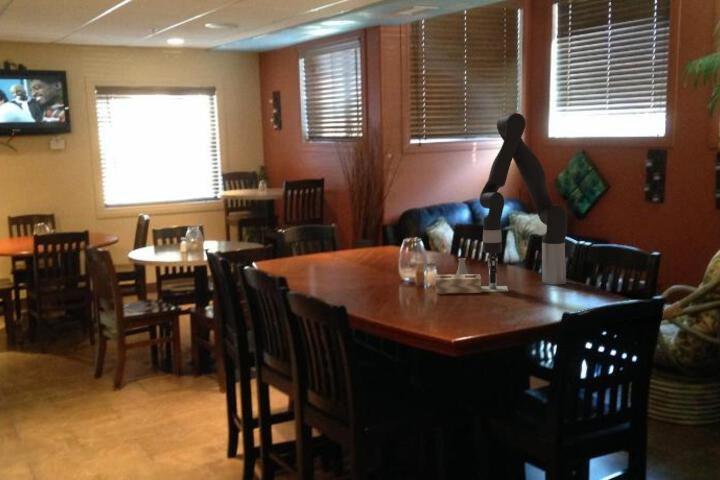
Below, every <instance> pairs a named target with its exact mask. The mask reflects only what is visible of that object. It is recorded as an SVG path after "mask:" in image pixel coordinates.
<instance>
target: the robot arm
mask: <svg viewBox="0 0 720 480" xmlns="http://www.w3.org/2000/svg"><path fill="white" fill-rule="evenodd" d="M526 122H527V121H526V118H525V116H524V115H522V114H521V113H518V112H514V113H506V114H503V115H501V116H499V117H498V119H497V120H496V129H497V132H498V134H499V136H500V138H501V139H502V140H503V142H502V144H501V147H500V148H499V151H498V153H497V154H496V156H495V158H494V160H493V162H492V164H491V168H490V172H489V175H488V180H487V181H486V183H485V184H484V187H483V188H482V190H481V192H480V195H479V204H480V206H481V207H482V208H483V209H488V214H486V215H484V216H483V218H482V219H483V221H482V223H483V224H482V226H483V227H482V228H483V232H482V252H483V253H485V254H488V255H487V257H486V258H487V266H488V267H487V268H488V270H489V269H490V283H496V281H497V273H498V272H497V268H498V261H499V260H498V256H497V255H496V254H500V253H502V251H503V250H502V249H503V247H502V246H503V243H502V242H503V241H502V237H503V236H502V227H501V226H502V217H503V212H504V208H505V199H504V196H503V194H502V193H501V192H499V189H501V188H503V187H504V186H505V185H506V181H507V179H508V175H509V170H510V167H511V165H512V160H513V162H514V163H515V166H516V168H517V169H518V172H519V174H520V176H521V178H522V181H523V183H524V184H525V187H526V189H527V191H528V193H529V195H530V196H531V199H532V201H533V204H534V207H535V210H536V212H537V217H539V220H540V222H541V223H542V224H544V225H545V226H546V230H545V231H546V232H545V234H543V235H542V237H541V261H542V262H541V264H542V265H541V266H542V267H541V268H542V269H541V271H542V273H541V279H542V280H541V283H542V284H544V285H551V286H552V285H555V286H556V285H557V286H558V285H564V284H565V285H566V284H567V277H566V276H567V267H566V265H567V262H566V252H565V251H566V238H567V234H568V222H569V221H568V211H567V210H566V208H565V206H563V205H560V204H555V203H554V201H553V200H552V197H551V196H550V194H549V192H548V186H547V176H546V172H545V170H544V167H543V165H542V163H541V161H540V159H539V158H538V156H537V155H536V154H535V153H534V151H532V150H531V149H530V148H529V146H527V145H526V143H525V142H524V140H523V138H522V137H523V135H524V132H525V130H526V127H527V126H526V125H527V123H526ZM492 269H495V271H492Z"/></svg>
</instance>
